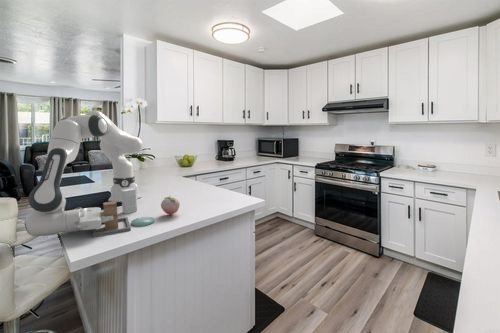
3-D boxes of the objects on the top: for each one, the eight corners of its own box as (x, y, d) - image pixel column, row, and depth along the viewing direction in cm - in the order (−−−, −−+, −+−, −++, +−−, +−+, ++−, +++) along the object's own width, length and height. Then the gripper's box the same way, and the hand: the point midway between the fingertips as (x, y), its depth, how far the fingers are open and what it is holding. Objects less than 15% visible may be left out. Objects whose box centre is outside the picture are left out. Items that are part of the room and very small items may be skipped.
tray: (93, 224, 120) (93, 222, 120) (127, 219, 127) (127, 217, 127) (92, 236, 106) (92, 234, 106) (130, 230, 113) (130, 227, 113)
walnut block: (105, 226, 117) (103, 202, 116) (117, 224, 120) (116, 201, 118) (105, 230, 113) (103, 205, 112) (118, 228, 116) (116, 203, 114)
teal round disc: (130, 221, 125) (130, 219, 125) (152, 217, 129) (152, 215, 129) (132, 227, 116) (132, 225, 116) (156, 223, 121) (156, 221, 121)
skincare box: (133, 209, 143) (131, 188, 141) (137, 211, 140) (135, 189, 138) (122, 212, 138) (120, 190, 136) (125, 214, 135) (124, 191, 134)
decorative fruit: (183, 214, 135) (183, 195, 134) (171, 218, 128) (170, 198, 127) (170, 211, 140) (170, 192, 138) (158, 215, 133) (157, 196, 131)
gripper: (72, 220, 100) (113, 214, 107) (77, 206, 118) (111, 202, 124) (74, 236, 101) (114, 229, 108) (78, 220, 119) (112, 215, 125)
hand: (113, 215), depth 116 cm, fingers closed on walnut block, 5 cm apart
